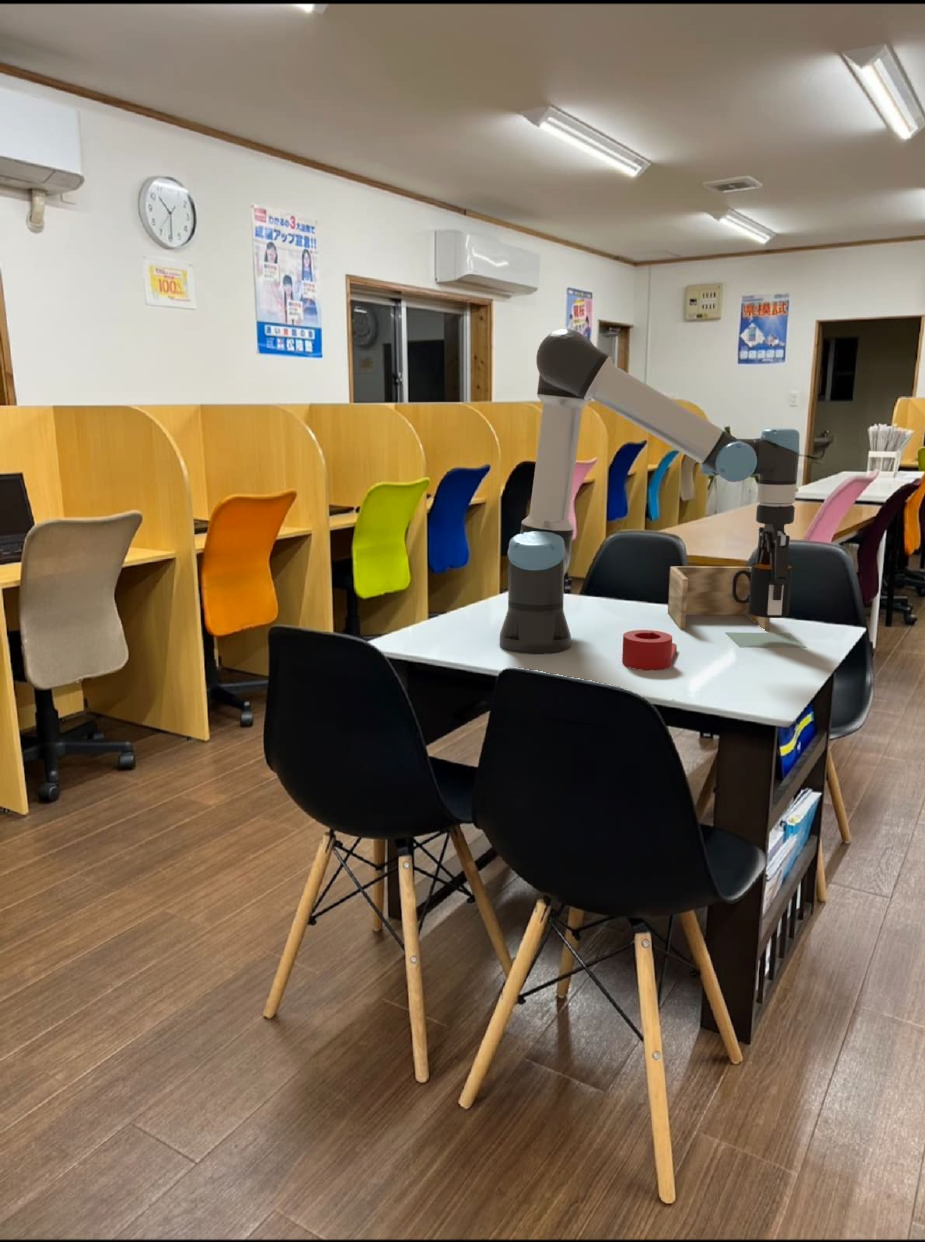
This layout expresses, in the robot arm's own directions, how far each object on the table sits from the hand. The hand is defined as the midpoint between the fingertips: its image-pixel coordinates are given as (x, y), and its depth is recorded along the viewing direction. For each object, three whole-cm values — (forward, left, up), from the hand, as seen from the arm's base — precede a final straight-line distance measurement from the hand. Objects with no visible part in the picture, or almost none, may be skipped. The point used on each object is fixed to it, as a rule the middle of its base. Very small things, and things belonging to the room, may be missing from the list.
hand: (768, 609), depth 191 cm
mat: (0, 0, -7) cm, 7 cm away
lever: (-27, -16, -8) cm, 32 cm away
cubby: (-7, +18, -7) cm, 20 cm away
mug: (-2, +1, -1) cm, 2 cm away
